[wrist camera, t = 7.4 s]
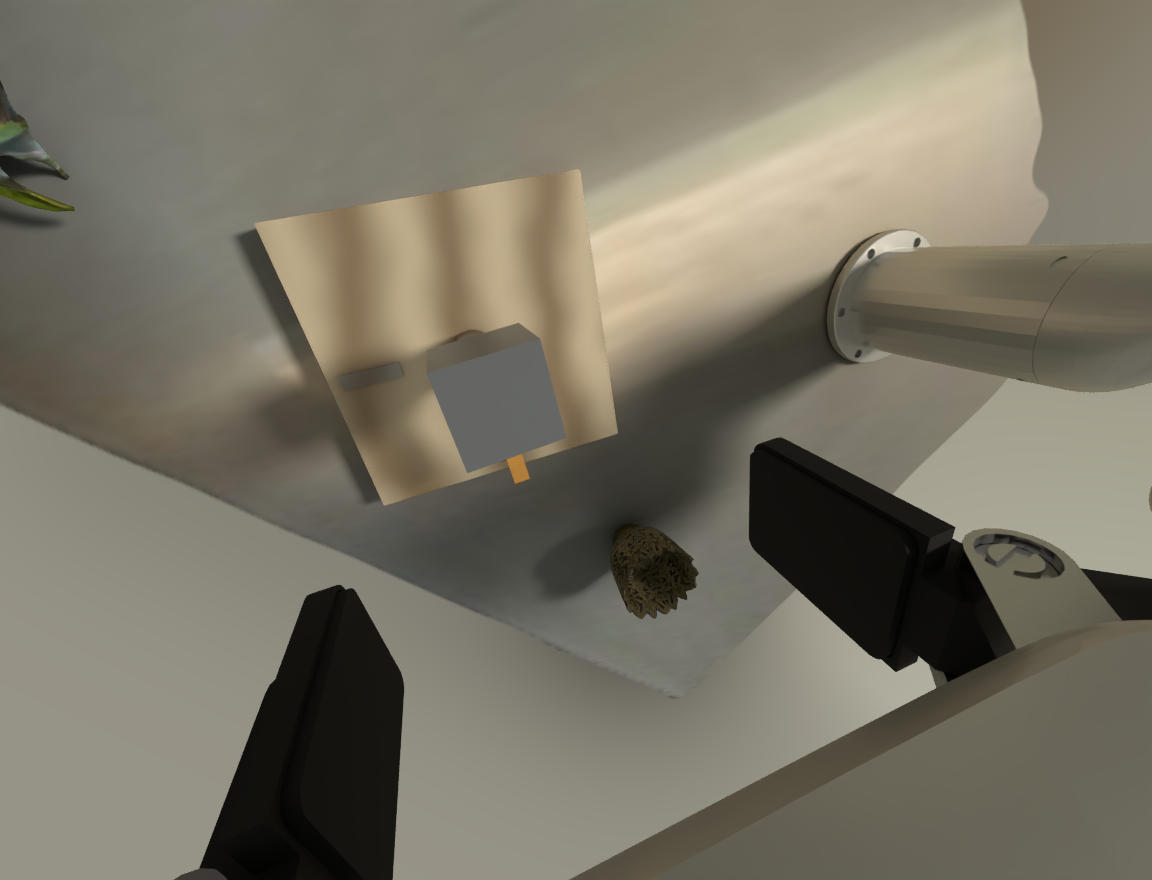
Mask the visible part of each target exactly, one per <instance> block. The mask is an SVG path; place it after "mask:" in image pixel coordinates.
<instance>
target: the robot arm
mask: <svg viewBox="0 0 1152 880" xmlns="http://www.w3.org/2000/svg"><path fill="white" fill-rule="evenodd" d="M827 330H828V335H829V339H830V341H831V343H832V346H833V348H834V349H835V350H836V351H837V353H838V354H839V355H841V356H842V357H844V358H845V359H848V360H851V361H854V362H860V363H872V362H875V361H878V360H881V359H883V358H885V357H887V356H889V355H891V354H892V353H893V354H897V355H902V356H907V357H912V358H916V359H921V360H926V361H930V362H935V363H940V364H945V365H949V366H954V367H959V368H964V369H968V370H973V371H978V372H983V373H987V374H992V375H997V376H1002V377H1006V378H1011V379H1016V380H1021V381H1025V382H1031V383H1036V384H1040V385H1046V386H1050V387H1055V388H1060V389H1065V390H1070V391H1077V392H1110V391H1117V390H1123V389H1128V388H1133V387H1136V386H1140V385H1144V384H1148V383H1151V382H1152V243H1121V244H1069V245H1012V246H956V247H931V246H930V244H929V242H928V241H927V240H926V238H925V237H924V236H923V235H921V234H920V233H918V232H916V231H913V230H908V229H898V230H890V231H885V232H882V233H880V234H878V235H876V236H874V237H872V238H871V239H869V240H868V241H867V242H865V243H864V244H862V245H861V246H860V247H859V248H858V249H857V250H856V251H855V252H854V253H853V255H852V256H851V257H850V259H849V260H848V261H847V263H846V264H845V265H844V267H843V269H842V270H841V272H840V274H839V276H838V278H837V280H836V282H835V285H834V287H833V289H832V292H831V296H830V300H829V303H828V311H827ZM1149 505H1150V509H1151V511H1152V487H1151V490H1150V493H1149ZM954 530H955V527H954V526H952V525H950V524H948V523H946V522H944V521H942V520H940V519H938V518H936V517H935V516H933V515H931V514H929V513H927V512H925V511H923V510H921V509H919V508H917V507H915V506H913V505H911V504H909V503H907V502H906V501H904V500H902V499H900V498H898V497H896V496H894V495H892V494H890V493H888V492H886V491H884V490H882V489H880V488H878V487H877V486H875V485H873V484H871V483H869V482H867V481H865V480H863V479H861V478H859V477H857V476H855V475H853V474H851V473H849V472H848V471H846V470H844V469H842V468H840V467H838V466H836V465H834V464H832V463H830V462H828V461H826V460H824V459H822V458H820V457H819V456H817V455H815V454H813V453H811V452H809V451H807V450H805V449H803V448H801V447H799V446H797V445H795V444H793V443H791V442H789V441H788V440H786V439H783V438H775V439H772V440H769V441H766V442H763V443H760V444H758V445H756V447H755V449H754V452H753V453H752V454H751V455H750V494H749V540H750V543H751V545H752V547H753V549H754V550H755V551H756V552H757V553H758V554H759V555H760V556H761V557H762V558H763V559H764V560H766V561H767V562H768V563H769V564H770V565H771V566H772V567H773V568H774V569H775V570H777V571H778V572H779V573H780V574H781V575H782V576H783V577H784V578H785V579H786V580H788V581H789V582H790V583H791V584H792V585H793V586H794V587H795V588H796V589H798V590H799V591H800V592H801V593H802V594H803V595H804V596H805V597H806V598H807V599H808V600H810V601H811V602H812V603H813V604H814V605H815V606H816V607H817V608H818V609H819V610H821V611H822V612H823V613H824V614H825V615H826V616H827V617H828V618H829V619H830V620H832V621H833V622H834V623H835V624H836V625H837V626H838V627H839V628H840V629H841V630H843V631H844V632H845V633H846V634H847V635H848V636H849V637H850V638H852V639H853V640H854V641H855V642H856V643H857V644H858V645H859V646H860V647H861V648H862V649H863V650H865V651H866V652H867V653H868V654H869V655H871V656H872V657H874V658H876V659H882V660H883V661H884V662H885V663H886V664H887V665H888V666H890V667H891V668H892V669H893V670H894V671H895V672H897V671H899V670H901V669H903V668H905V667H907V666H909V665H911V664H913V663H915V662H917V659H918V656H920V658H922V659H923V660H924V661H925V662H927V663H928V664H929V666H930V669H931V672H932V676H933V679H934V682H935V685H936V689H934V690H932V691H930V692H928V693H927V694H925V695H922V696H920V697H918V698H917V699H915V700H913V701H911V702H909V703H907V704H905V705H903V706H901V707H899V708H897V709H895V710H893V711H891V712H889V713H888V714H886V715H883V716H882V717H880V718H878V719H876V720H874V721H872V722H870V723H868V724H866V725H864V726H862V727H860V728H858V729H856V730H855V731H852V732H850V733H849V734H847V735H845V736H843V737H841V738H839V739H837V740H835V741H833V742H831V743H829V744H827V745H825V746H824V747H821V748H819V749H818V750H816V751H814V752H812V753H810V754H808V755H806V756H804V757H802V758H800V759H798V760H797V761H795V762H793V763H791V764H789V765H787V766H785V767H783V768H781V769H779V770H777V771H775V772H774V773H772V774H770V775H768V776H766V777H764V778H762V779H760V780H758V781H756V782H754V783H752V784H750V785H748V786H747V787H745V788H743V789H741V790H739V791H737V792H735V793H733V794H731V795H729V796H727V797H725V798H724V799H722V800H720V801H718V802H716V803H714V804H712V805H710V806H708V807H706V808H705V809H703V810H701V811H699V812H697V813H695V814H693V815H691V816H689V817H687V818H685V819H683V820H682V821H680V822H678V823H676V824H674V825H672V826H670V827H668V828H666V829H664V830H663V831H661V832H659V833H657V834H655V835H653V836H651V837H649V838H647V839H645V840H644V841H642V842H640V843H638V844H636V845H634V846H632V847H630V848H628V849H627V850H625V851H623V852H621V853H619V854H617V855H615V856H613V857H612V858H610V859H608V860H606V861H604V862H602V863H600V864H598V865H596V866H594V867H592V868H591V869H589V870H587V871H585V872H583V873H581V874H579V875H578V876H576V877H574V878H572V879H570V880H1152V579H1148V578H1142V577H1135V576H1128V575H1122V574H1115V573H1108V572H1101V571H1094V570H1088V569H1081V568H1079V566H1078V565H1077V564H1076V563H1075V561H1074V560H1073V559H1071V558H1070V557H1069V556H1068V555H1067V554H1066V553H1065V552H1064V551H1062V550H1060V549H1059V548H1057V547H1055V546H1054V545H1052V544H1050V543H1048V542H1046V541H1044V540H1041V539H1039V538H1037V537H1034V536H1031V535H1028V534H1024V533H1020V532H1017V531H1012V530H1005V529H989V528H987V529H985V528H984V529H979V530H974V531H972V532H970V533H968V534H967V535H965V537H964V539H963V541H962V544H961V543H959V542H958V541H956V540H954V539H952V537H953V534H954ZM403 698H404V683H403V678H402V674H401V672H400V670H399V668H398V666H397V665H396V663H395V661H394V659H393V657H392V656H391V654H390V652H389V650H388V648H387V647H386V645H385V643H384V641H383V639H382V638H381V636H380V634H379V632H378V630H377V629H376V627H375V625H374V623H373V622H372V620H371V618H370V616H369V614H368V613H367V611H366V609H365V607H364V605H363V604H362V602H361V600H360V598H359V597H358V595H357V593H356V592H355V590H354V589H352V588H350V589H347V590H345V589H344V587H342V586H341V585H336V586H333V587H330V588H327V589H324V590H321V591H318V592H315V593H312V594H310V595H308V596H306V598H305V600H304V603H303V605H302V608H301V611H300V614H299V616H298V619H297V622H296V625H295V627H294V630H293V633H292V635H291V638H290V641H289V644H288V646H287V649H286V652H285V655H284V658H283V660H282V663H281V665H280V668H279V671H278V674H277V677H276V679H275V680H274V681H273V682H272V683H271V684H270V686H269V688H268V690H267V691H266V693H265V696H264V698H263V701H262V704H261V706H260V709H259V712H258V714H257V717H256V720H255V722H254V725H253V727H252V730H251V733H250V736H249V738H248V741H247V743H246V746H245V749H244V751H243V754H242V757H241V759H240V762H239V765H238V767H237V770H236V773H235V775H234V778H233V780H232V783H231V786H230V788H229V791H228V794H227V797H226V799H225V802H224V805H223V807H222V810H221V812H220V815H219V818H218V820H217V823H216V826H215V828H214V831H213V834H212V836H211V839H210V841H209V844H208V847H207V850H206V852H205V855H204V857H203V860H202V863H201V865H200V868H199V869H197V870H194V871H191V872H189V873H186V874H183V875H181V876H179V877H178V878H176V879H174V880H392V879H393V863H394V847H395V831H396V830H395V829H396V814H397V798H398V780H399V765H400V748H401V732H402V731H401V730H402V715H403Z"/></svg>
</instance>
